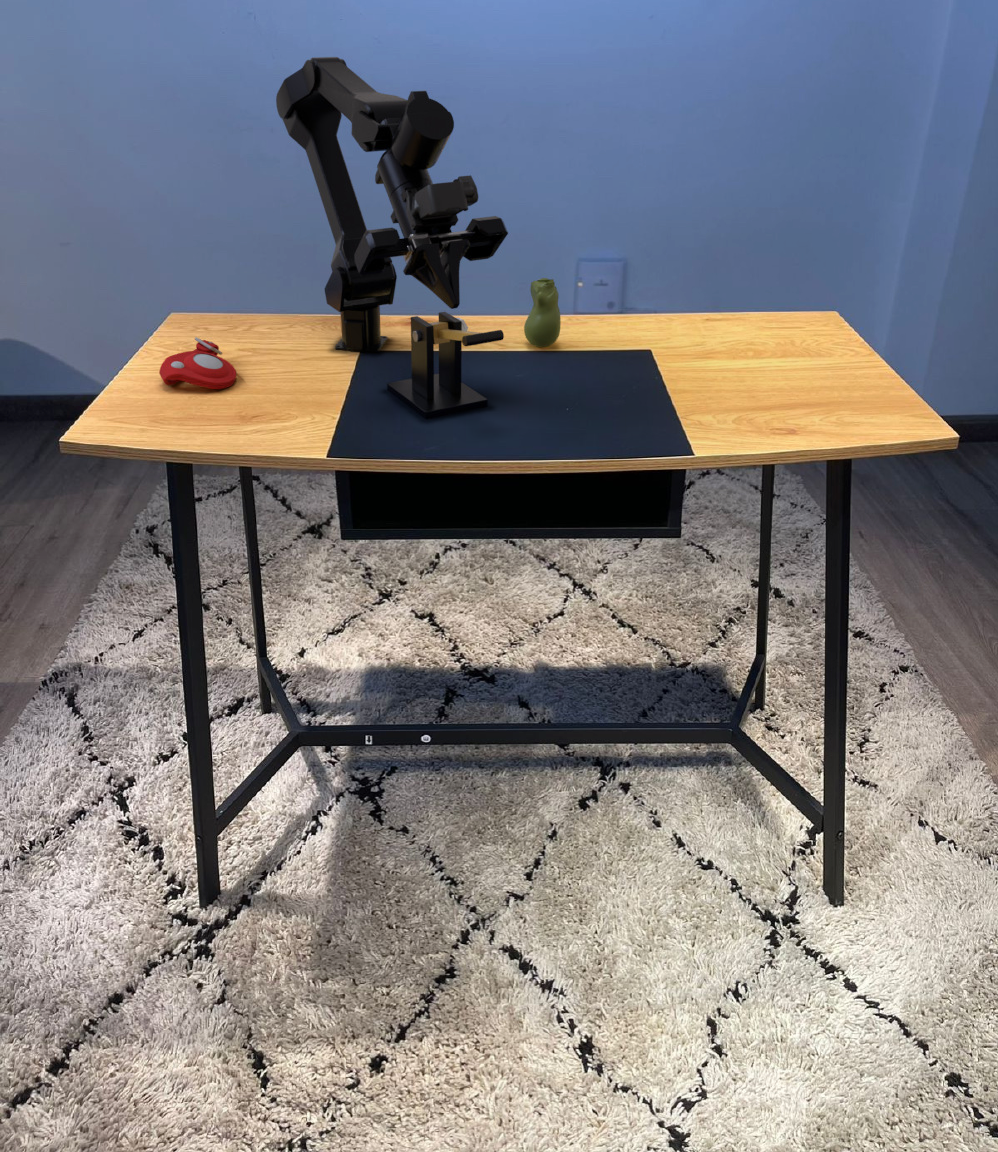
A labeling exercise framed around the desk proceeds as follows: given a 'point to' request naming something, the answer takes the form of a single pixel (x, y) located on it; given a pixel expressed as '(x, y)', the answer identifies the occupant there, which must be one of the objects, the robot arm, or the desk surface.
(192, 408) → the desk surface
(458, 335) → the latch lever
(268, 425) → the desk surface
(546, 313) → the green vase
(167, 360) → the tracker holder
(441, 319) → the latch bracket
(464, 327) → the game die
